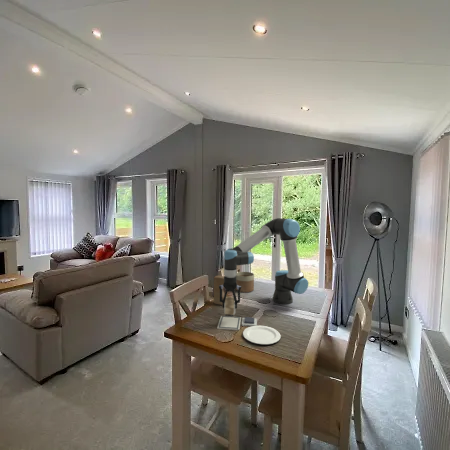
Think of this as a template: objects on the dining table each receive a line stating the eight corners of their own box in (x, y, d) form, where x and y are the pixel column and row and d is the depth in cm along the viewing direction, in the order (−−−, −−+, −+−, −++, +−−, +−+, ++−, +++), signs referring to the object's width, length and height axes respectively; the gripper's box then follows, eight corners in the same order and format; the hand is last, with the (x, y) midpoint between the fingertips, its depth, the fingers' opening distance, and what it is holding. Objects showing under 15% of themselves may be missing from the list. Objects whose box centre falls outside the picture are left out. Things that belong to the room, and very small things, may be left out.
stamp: (234, 312, 163) (234, 297, 162) (233, 316, 158) (233, 300, 157) (226, 312, 163) (226, 296, 162) (225, 315, 158) (225, 299, 157)
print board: (241, 318, 168) (241, 316, 168) (239, 330, 152) (239, 328, 152) (220, 317, 170) (220, 315, 170) (217, 328, 154) (217, 327, 154)
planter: (248, 294, 214) (248, 277, 213) (231, 290, 222) (231, 274, 221) (256, 289, 227) (257, 273, 226) (240, 285, 235) (241, 270, 234)
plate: (254, 350, 132) (254, 347, 132) (236, 331, 151) (236, 329, 151) (288, 342, 141) (288, 339, 140) (267, 325, 160) (267, 322, 159)
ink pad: (256, 320, 166) (256, 316, 166) (256, 326, 157) (256, 323, 157) (242, 319, 167) (242, 315, 167) (241, 325, 158) (241, 322, 158)
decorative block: (230, 303, 193) (230, 277, 191) (226, 306, 188) (227, 279, 186) (217, 301, 198) (217, 275, 196) (213, 303, 193) (213, 276, 191)
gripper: (245, 274, 161) (244, 311, 163) (216, 273, 163) (216, 309, 165) (244, 278, 154) (244, 316, 156) (214, 276, 156) (214, 314, 158)
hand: (229, 313), depth 160 cm, fingers closed on stamp, 5 cm apart
